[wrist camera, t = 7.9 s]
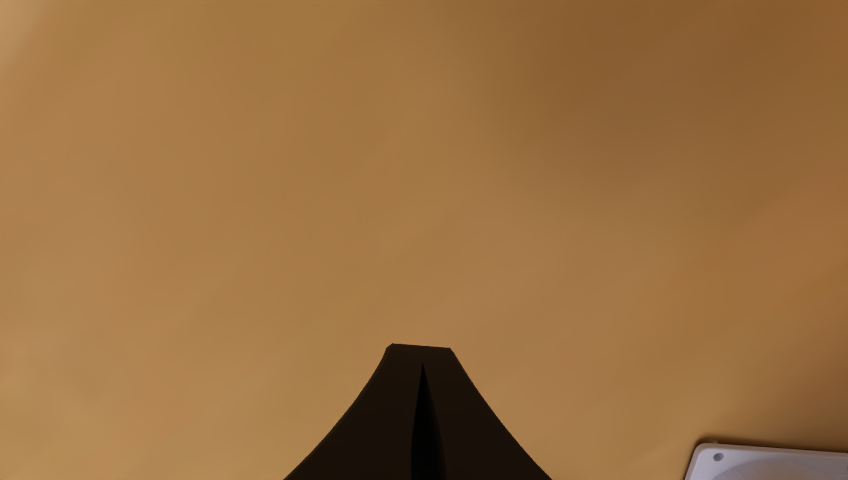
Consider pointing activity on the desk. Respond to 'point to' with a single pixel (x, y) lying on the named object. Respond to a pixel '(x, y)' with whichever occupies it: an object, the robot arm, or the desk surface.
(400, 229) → the desk surface
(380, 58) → the desk surface
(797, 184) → the desk surface
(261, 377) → the desk surface
